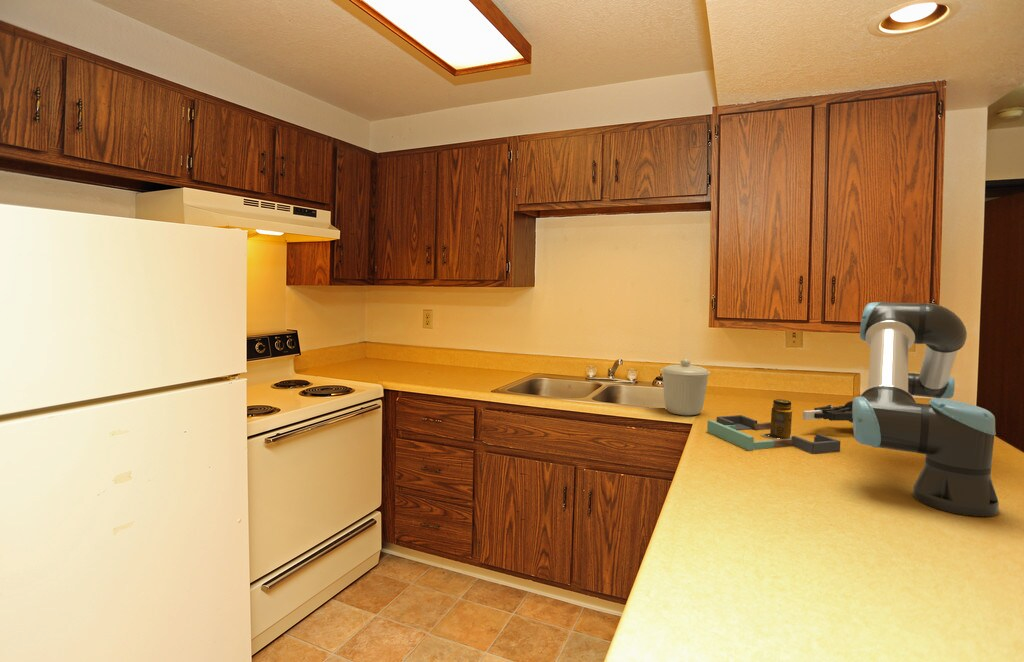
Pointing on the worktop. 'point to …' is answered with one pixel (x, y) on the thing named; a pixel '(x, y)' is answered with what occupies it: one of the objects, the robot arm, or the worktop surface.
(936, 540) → the worktop surface
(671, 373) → the canister
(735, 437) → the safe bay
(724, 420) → the trap pits
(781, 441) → the lane
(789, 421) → the condiment
